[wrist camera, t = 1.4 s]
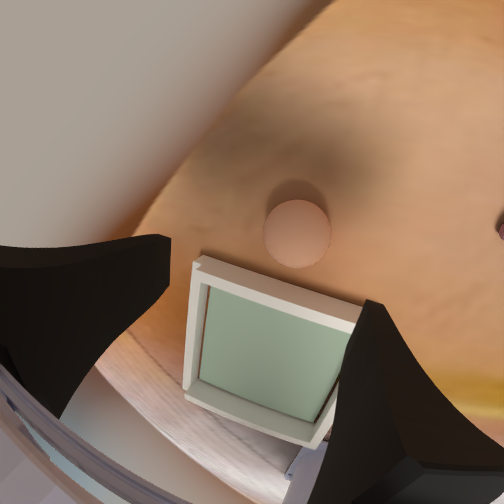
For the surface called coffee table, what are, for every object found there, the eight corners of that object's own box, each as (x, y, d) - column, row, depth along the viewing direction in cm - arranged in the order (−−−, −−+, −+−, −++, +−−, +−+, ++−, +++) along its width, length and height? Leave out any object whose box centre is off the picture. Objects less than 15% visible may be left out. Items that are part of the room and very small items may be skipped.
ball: (325, 263, 20) (315, 287, 16) (268, 245, 21) (247, 265, 17) (341, 205, 18) (335, 217, 15) (281, 188, 19) (260, 196, 16)
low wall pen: (321, 430, 24) (315, 450, 22) (190, 379, 28) (177, 394, 26) (381, 312, 19) (382, 332, 17) (203, 254, 23) (185, 265, 21)
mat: (313, 420, 24) (313, 422, 24) (200, 377, 27) (199, 378, 27) (361, 321, 20) (361, 323, 20) (214, 272, 23) (212, 273, 23)
